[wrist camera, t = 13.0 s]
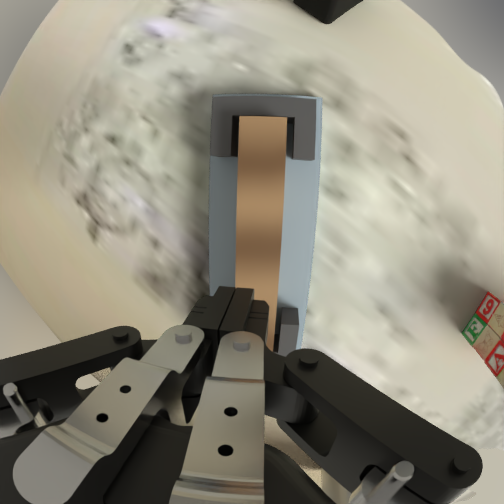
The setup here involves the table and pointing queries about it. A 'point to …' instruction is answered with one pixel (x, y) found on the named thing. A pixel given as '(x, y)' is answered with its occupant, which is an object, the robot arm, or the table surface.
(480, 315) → the stack of blocks
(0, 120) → the table surface
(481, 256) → the table surface
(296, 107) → the cap board
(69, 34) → the table surface
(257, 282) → the slat
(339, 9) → the battery
